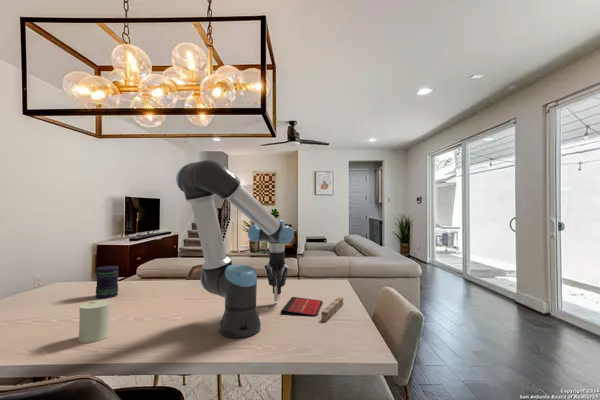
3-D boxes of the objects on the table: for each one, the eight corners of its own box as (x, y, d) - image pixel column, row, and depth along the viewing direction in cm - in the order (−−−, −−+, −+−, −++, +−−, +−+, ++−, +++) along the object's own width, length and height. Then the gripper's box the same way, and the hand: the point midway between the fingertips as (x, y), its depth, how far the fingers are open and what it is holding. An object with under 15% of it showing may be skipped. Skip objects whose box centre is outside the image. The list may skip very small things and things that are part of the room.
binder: (280, 309, 130) (291, 296, 151) (280, 315, 130) (291, 300, 151) (317, 314, 127) (323, 299, 147) (317, 319, 127) (323, 304, 147)
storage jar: (104, 293, 161) (105, 265, 162) (122, 293, 161) (122, 265, 161) (90, 298, 151) (91, 269, 152) (109, 299, 151) (110, 269, 151)
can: (104, 329, 113) (105, 297, 113) (113, 336, 107) (114, 302, 107) (74, 337, 105) (75, 303, 106) (83, 345, 100) (83, 309, 100)
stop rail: (327, 321, 122) (327, 312, 122) (321, 320, 123) (321, 311, 123) (343, 304, 143) (343, 297, 143) (338, 304, 144) (338, 296, 144)
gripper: (292, 251, 146) (292, 300, 145) (269, 249, 151) (269, 296, 151) (285, 253, 139) (285, 304, 139) (261, 251, 145) (261, 301, 144)
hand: (276, 300), depth 145 cm, fingers closed
